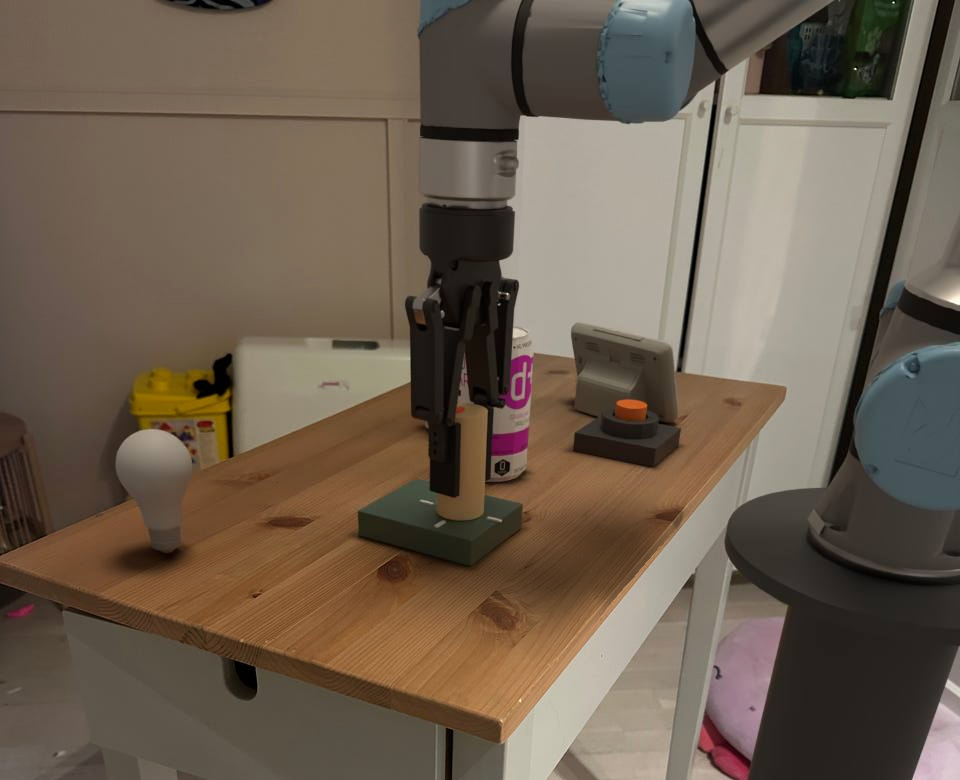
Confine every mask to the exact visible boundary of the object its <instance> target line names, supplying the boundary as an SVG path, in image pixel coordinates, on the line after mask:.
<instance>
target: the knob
mask: <svg viewBox="0 0 960 780" xmlns="http://www.w3.org/2000/svg"><path fill="white" fill-rule="evenodd" d="M443 410H444V408H443ZM487 418H488V410H487V409H486V408H485V407H483V406H480V405H477V404H472V403H457V409H456V416H455V421H454V422H456V423H461V449H460V491H459V496H457V497H456V498H453V497H449V496H446V495H442V494H439V493H436V511H437V513H438V514H439V515H440V516H442V517H444V518H447V519H451V520H461V521H462V520H472V519H476V518H478V517H480V516H482V515H483V513H484V495H486V482H485V470H486V444H487Z"/></svg>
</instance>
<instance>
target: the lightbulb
mask: <svg viewBox="0 0 960 780" xmlns="http://www.w3.org/2000/svg"><path fill="white" fill-rule="evenodd" d="M192 459H193V458H192V457H191V454H190V452H189V450H188V448H187V446H186V445H185V444H184V443H183V442H182V441H181V440H180V439H179V438H178V437H177V436H176V435H174V434H172V433H170V432H168V431H165V430H162V429H157V428H147V429H142V430H138V431H136V432H134V433H132V434H130V435H129V436H128V437H127V438H125V439H124V440H123V442H122V443H121V444H120V446H119V448H118V450H117V451H116V456H115V472H116V476H117V478H118V480H119V482H120V484H121V485H122V486H123V488H124V489H125V490H126V492H127V493H128V494H129V495H130V497H131V498H132V499H133V501H135V503H136V505H137V506H138V509H139V511H140V514H141V516H142V520H143V524H144V526H145V528H147V531H148V536H149V540H150V544H151V547H152V548H153V549H155V550H156V551H160V552H161V553H163V554H170V553H173V552H174V551H175V550H176V549H178V548H179V547H181V544H182V533H181V524H182V522H183V517H182V508H183V501H184V498H185V494H186V492H187V490H188V487H189V485H190V482H191V480H192V477H193V470H194V467H193V461H192Z"/></svg>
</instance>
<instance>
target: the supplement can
mask: <svg viewBox="0 0 960 780" xmlns="http://www.w3.org/2000/svg"><path fill="white" fill-rule="evenodd" d="M534 353H535V345H534V343H533V341H532V339H531V337H530V331H529V330H528V329H527V328H524V327H522V326H518V325H513V339H512V357H511V374H510V389H509V392H508V394H507V395H506V396H504V395H501V396H500V397H499V398H503V399H506V404H505V407H504V408H503V409H500V408H496V407H494V416H493V435H492V455H491V479H489V480H488V481H485V483H493V482H494V483H497V482H498V483H500V482H506V481H507V482H508V481H511V480H514V479H516V478H518V477H519V476H520V475H521V474H522V473H523V472H524V471H525V470H527V466H528V465H527V464H528V450H529V449H528V448H529V434H530V433H529V432H530V418H531V403H532V402H531V401H532V387H533V386H532V385H533V370H534V369H533V367H534ZM497 378H498V377H497ZM498 380H499V378H498ZM457 403H472V404H474V403H473V402H471V401H470V399H469V389H468V380H467V370H466V361H465V353H464V360H463V367H462V374H461V381H460V388H459V395H458V402H457Z"/></svg>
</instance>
